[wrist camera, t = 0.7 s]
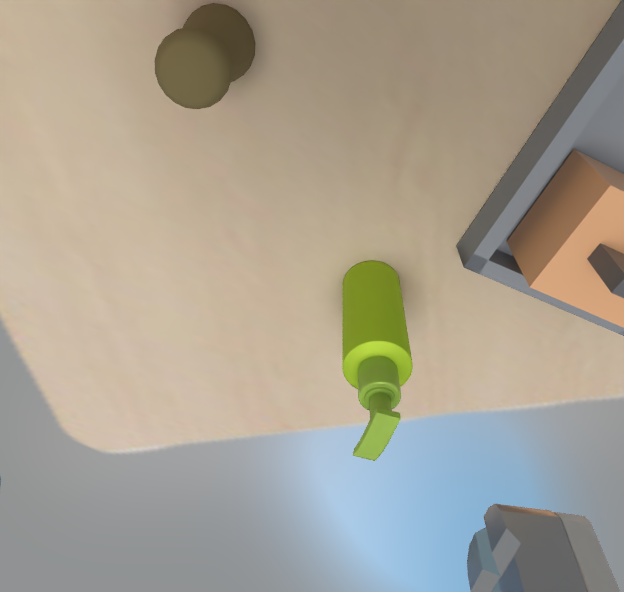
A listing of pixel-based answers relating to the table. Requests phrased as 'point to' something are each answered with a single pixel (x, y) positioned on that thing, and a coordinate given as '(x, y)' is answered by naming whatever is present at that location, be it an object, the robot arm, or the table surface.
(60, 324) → the table surface
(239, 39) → the pepper mill
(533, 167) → the bay
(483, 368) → the table surface
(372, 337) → the soap dispenser
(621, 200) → the tan block with handle
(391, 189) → the table surface
